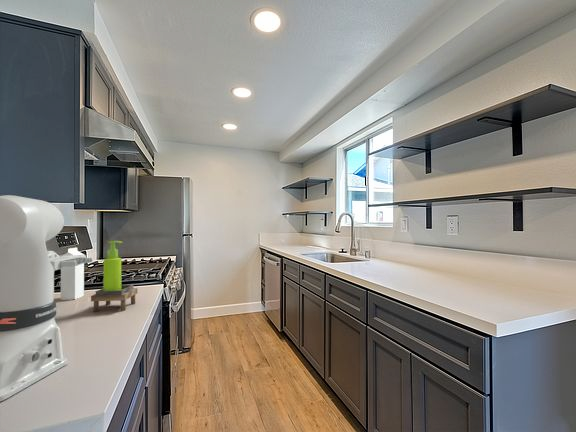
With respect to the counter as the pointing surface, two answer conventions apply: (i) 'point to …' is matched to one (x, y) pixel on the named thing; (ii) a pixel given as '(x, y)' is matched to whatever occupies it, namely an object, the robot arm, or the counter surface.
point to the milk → (72, 279)
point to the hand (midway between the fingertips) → (84, 261)
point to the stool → (114, 296)
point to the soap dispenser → (112, 269)
